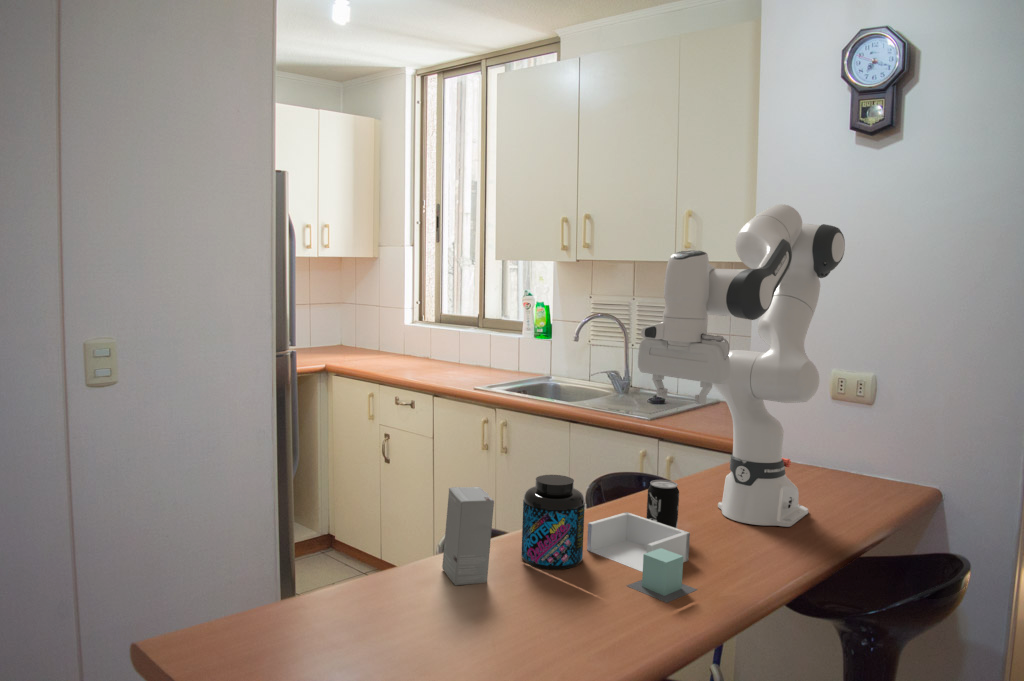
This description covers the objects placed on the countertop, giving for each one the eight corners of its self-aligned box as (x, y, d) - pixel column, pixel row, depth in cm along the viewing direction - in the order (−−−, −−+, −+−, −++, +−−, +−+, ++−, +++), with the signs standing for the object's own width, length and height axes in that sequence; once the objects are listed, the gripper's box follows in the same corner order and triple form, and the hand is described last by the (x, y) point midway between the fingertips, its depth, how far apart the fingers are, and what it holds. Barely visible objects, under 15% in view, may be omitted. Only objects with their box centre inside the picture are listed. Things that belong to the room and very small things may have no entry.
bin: (625, 539, 165) (626, 512, 165) (688, 562, 154) (689, 532, 153) (586, 551, 157) (588, 523, 157) (650, 576, 146) (651, 545, 145)
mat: (657, 575, 146) (657, 573, 146) (697, 591, 140) (697, 589, 140) (626, 587, 140) (626, 585, 140) (666, 604, 134) (666, 602, 134)
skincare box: (441, 569, 146) (443, 487, 144) (477, 565, 148) (480, 484, 147) (454, 587, 138) (456, 500, 136) (492, 582, 141) (495, 497, 139)
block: (659, 579, 143) (660, 548, 143) (681, 588, 140) (683, 556, 139) (641, 586, 140) (643, 554, 139) (664, 595, 136) (666, 562, 136)
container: (560, 577, 144) (563, 492, 142) (509, 561, 151) (511, 480, 149) (593, 559, 153) (596, 479, 152) (543, 545, 160) (546, 468, 159)
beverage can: (676, 544, 163) (679, 488, 162) (645, 541, 165) (647, 486, 163) (676, 534, 170) (679, 480, 169) (646, 531, 171) (648, 478, 170)
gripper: (738, 336, 150) (734, 406, 151) (653, 327, 165) (650, 392, 167) (720, 337, 146) (716, 410, 147) (634, 328, 161) (631, 394, 162)
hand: (680, 400), depth 157 cm, fingers open, 8 cm apart
